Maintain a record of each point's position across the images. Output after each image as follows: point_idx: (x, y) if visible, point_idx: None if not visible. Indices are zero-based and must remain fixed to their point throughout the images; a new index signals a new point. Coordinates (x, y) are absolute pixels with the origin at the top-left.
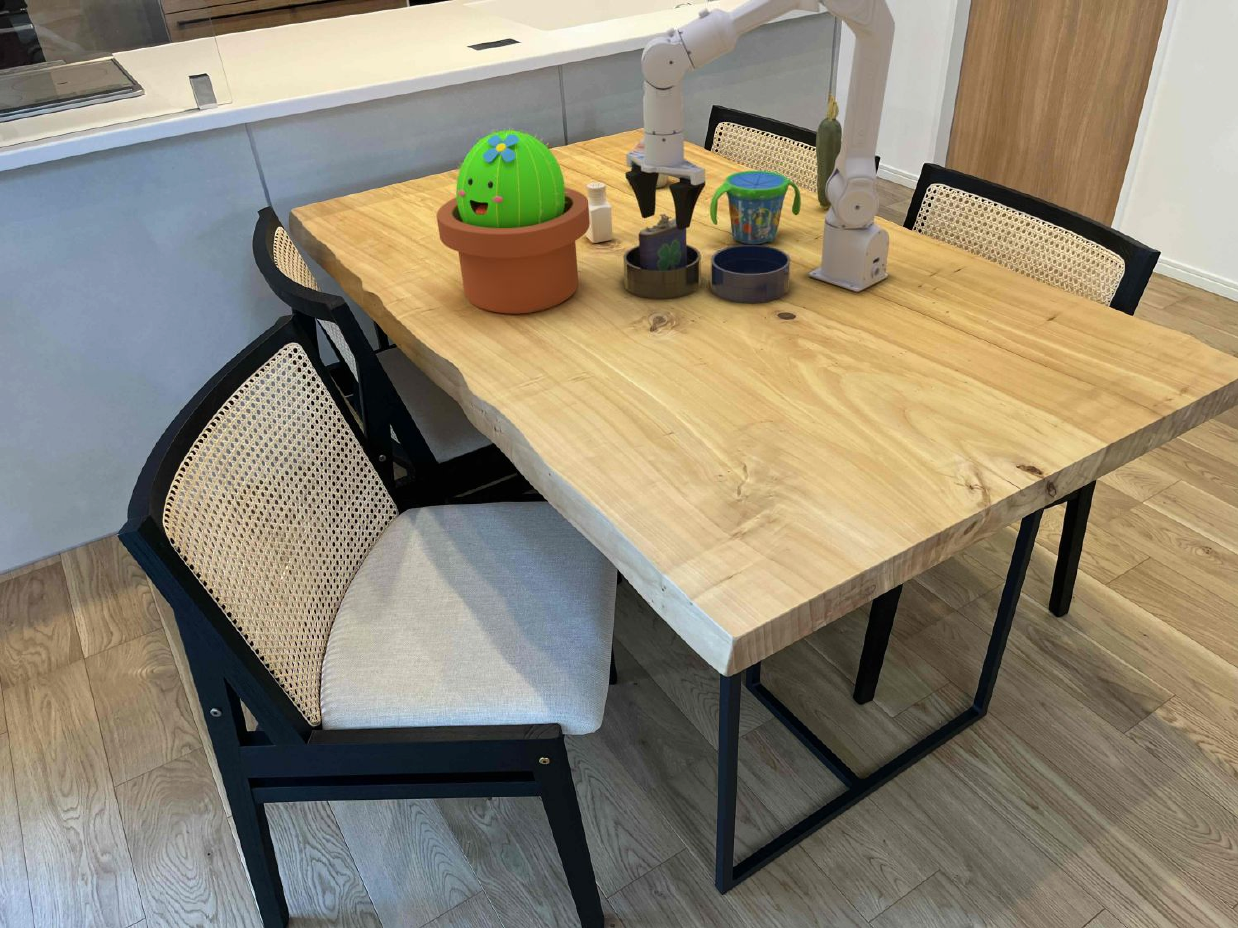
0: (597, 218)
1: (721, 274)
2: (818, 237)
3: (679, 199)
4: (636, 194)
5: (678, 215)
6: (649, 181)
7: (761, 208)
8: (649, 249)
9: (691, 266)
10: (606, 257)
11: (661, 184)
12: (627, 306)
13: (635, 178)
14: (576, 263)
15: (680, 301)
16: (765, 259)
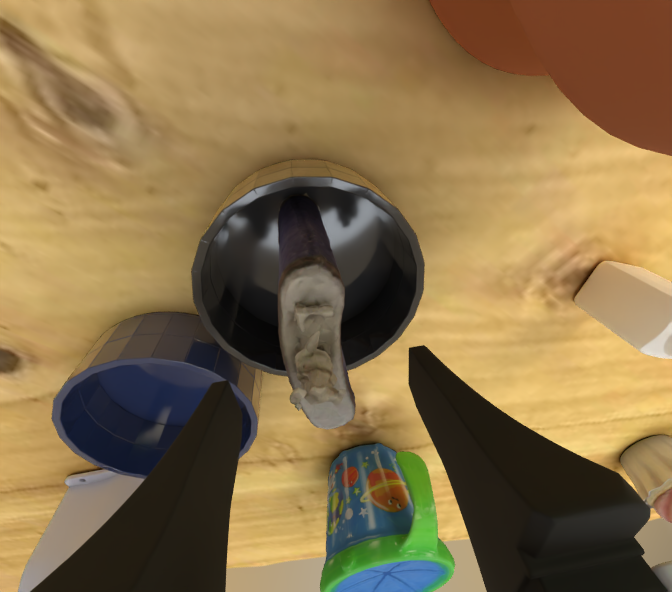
0: (645, 303)
1: (131, 350)
2: (302, 510)
3: (111, 528)
4: (484, 411)
5: (186, 432)
6: (479, 514)
7: (333, 531)
8: (281, 258)
9: (201, 318)
10: (525, 241)
11: (625, 458)
12: (232, 88)
13: (526, 510)
14: (487, 12)
15: (185, 233)
16: None
